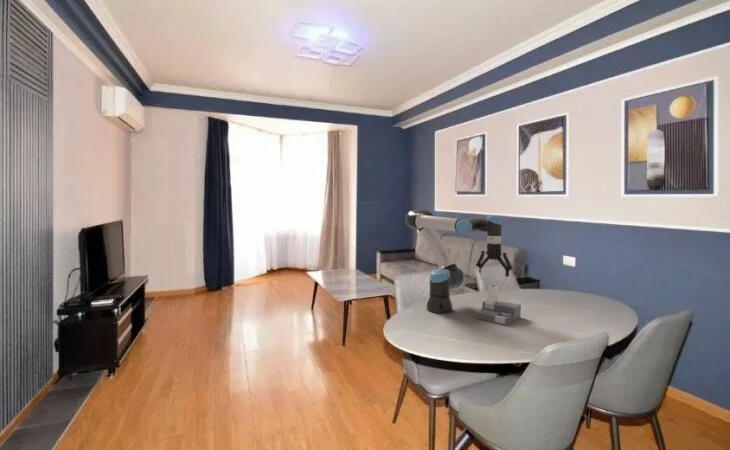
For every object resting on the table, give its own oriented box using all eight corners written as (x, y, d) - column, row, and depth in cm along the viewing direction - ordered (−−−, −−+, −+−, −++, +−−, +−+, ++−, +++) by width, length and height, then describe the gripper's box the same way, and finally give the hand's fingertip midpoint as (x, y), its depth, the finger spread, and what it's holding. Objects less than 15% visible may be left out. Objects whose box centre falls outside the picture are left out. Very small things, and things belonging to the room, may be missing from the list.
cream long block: (487, 307, 212) (488, 284, 211) (490, 305, 215) (491, 283, 214) (494, 308, 209) (495, 285, 208) (497, 306, 212) (498, 284, 211)
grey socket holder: (474, 318, 205) (475, 305, 204) (489, 310, 218) (489, 298, 218) (507, 325, 193) (507, 312, 192) (520, 317, 206) (520, 304, 205)
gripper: (470, 242, 215) (470, 278, 216) (513, 245, 198) (513, 284, 199) (476, 240, 220) (476, 276, 222) (519, 244, 203) (518, 282, 205)
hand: (493, 280), depth 210 cm, fingers open, 13 cm apart
